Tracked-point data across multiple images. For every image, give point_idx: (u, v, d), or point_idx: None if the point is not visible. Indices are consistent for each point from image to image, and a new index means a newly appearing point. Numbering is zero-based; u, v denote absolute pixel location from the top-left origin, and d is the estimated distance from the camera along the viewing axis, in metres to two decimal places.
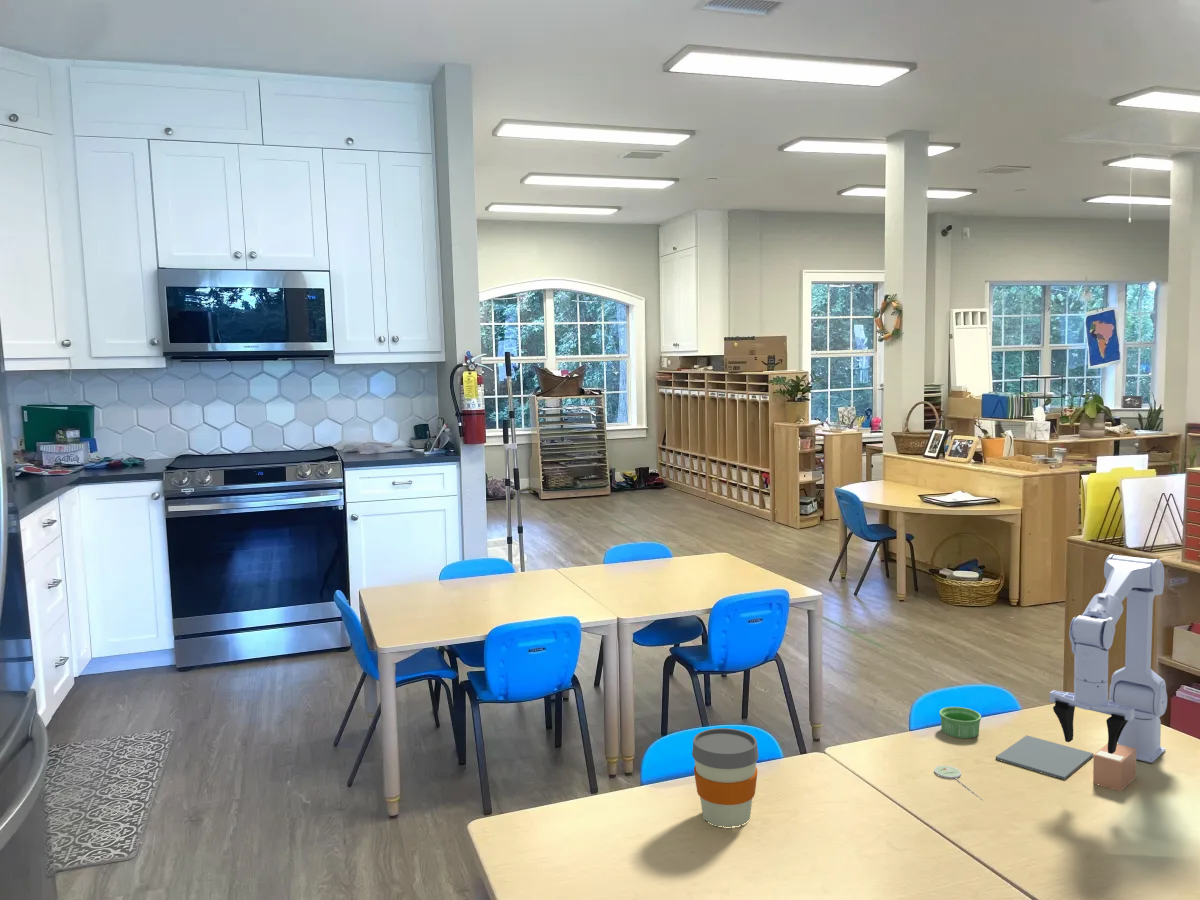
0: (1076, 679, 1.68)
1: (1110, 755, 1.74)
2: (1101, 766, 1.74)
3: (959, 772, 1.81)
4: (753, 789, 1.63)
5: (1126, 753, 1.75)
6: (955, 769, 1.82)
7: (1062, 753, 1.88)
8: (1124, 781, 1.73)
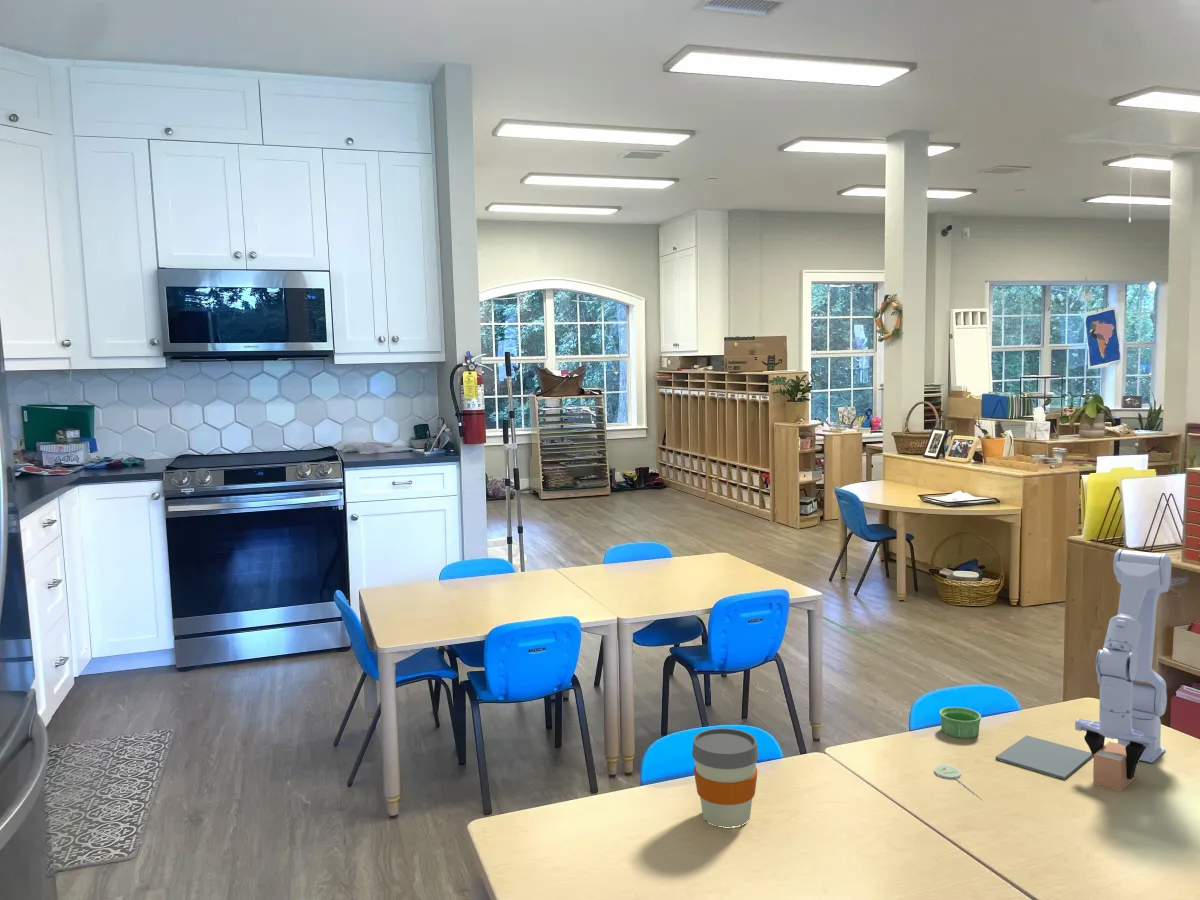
0: (1101, 709, 1.75)
1: (1110, 754, 1.74)
2: (1101, 765, 1.74)
3: (959, 772, 1.81)
4: (753, 789, 1.63)
5: None
6: (955, 769, 1.82)
7: (1062, 753, 1.88)
8: (1124, 780, 1.73)
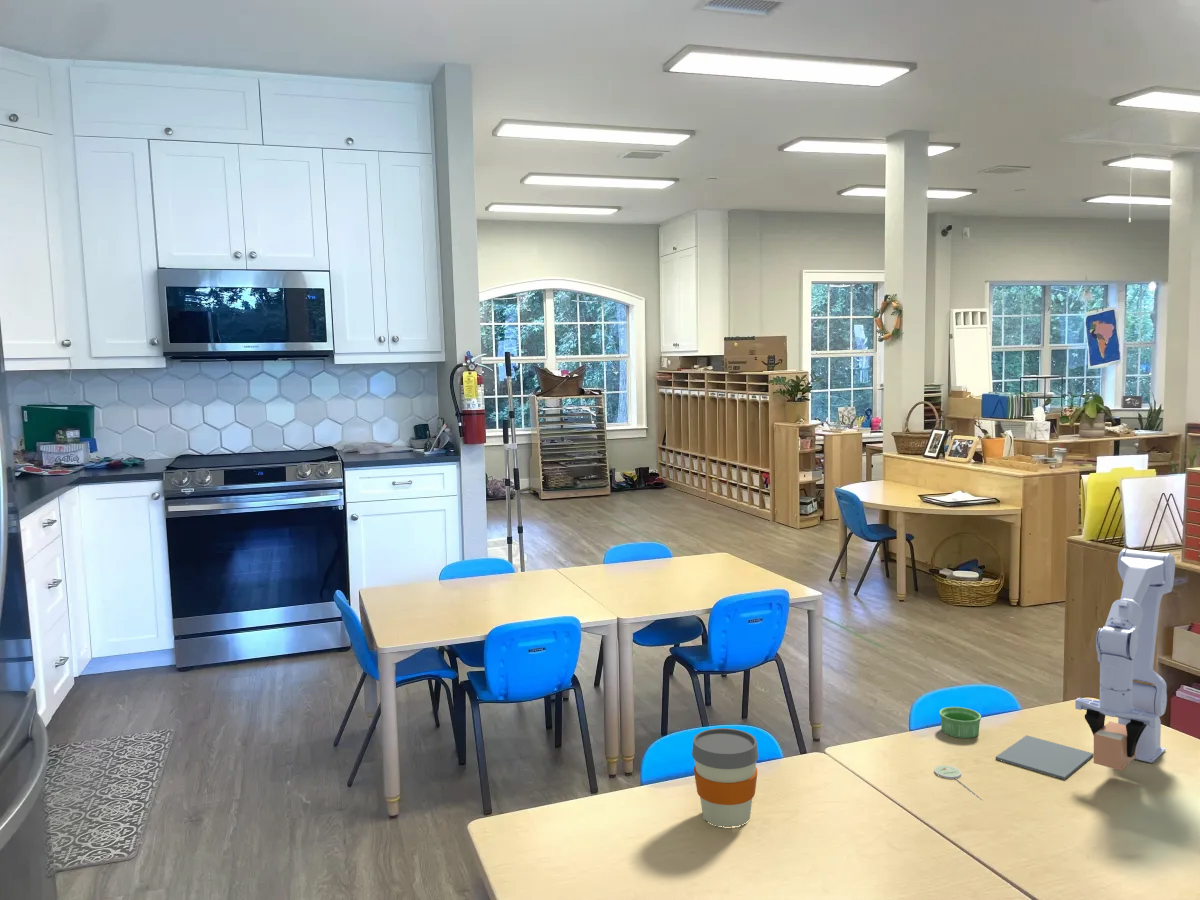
0: (1102, 687, 1.75)
1: (1110, 734, 1.74)
2: (1101, 745, 1.73)
3: (959, 772, 1.81)
4: (753, 789, 1.63)
5: (1126, 732, 1.74)
6: (955, 769, 1.82)
7: (1062, 753, 1.88)
8: (1125, 760, 1.73)
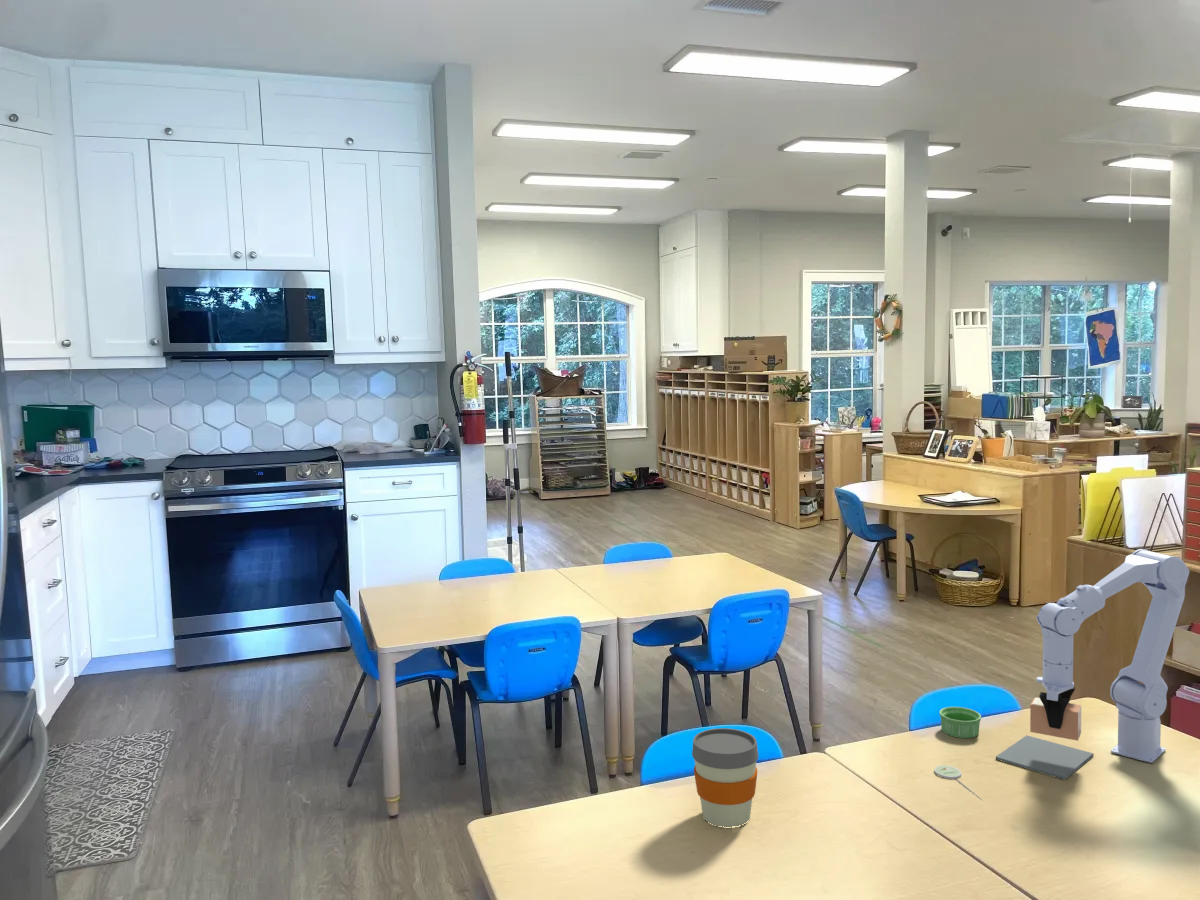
0: None
1: (1041, 701, 1.86)
2: None
3: (959, 772, 1.81)
4: (753, 789, 1.63)
5: None
6: (955, 769, 1.82)
7: (1062, 753, 1.88)
8: (1041, 727, 1.84)
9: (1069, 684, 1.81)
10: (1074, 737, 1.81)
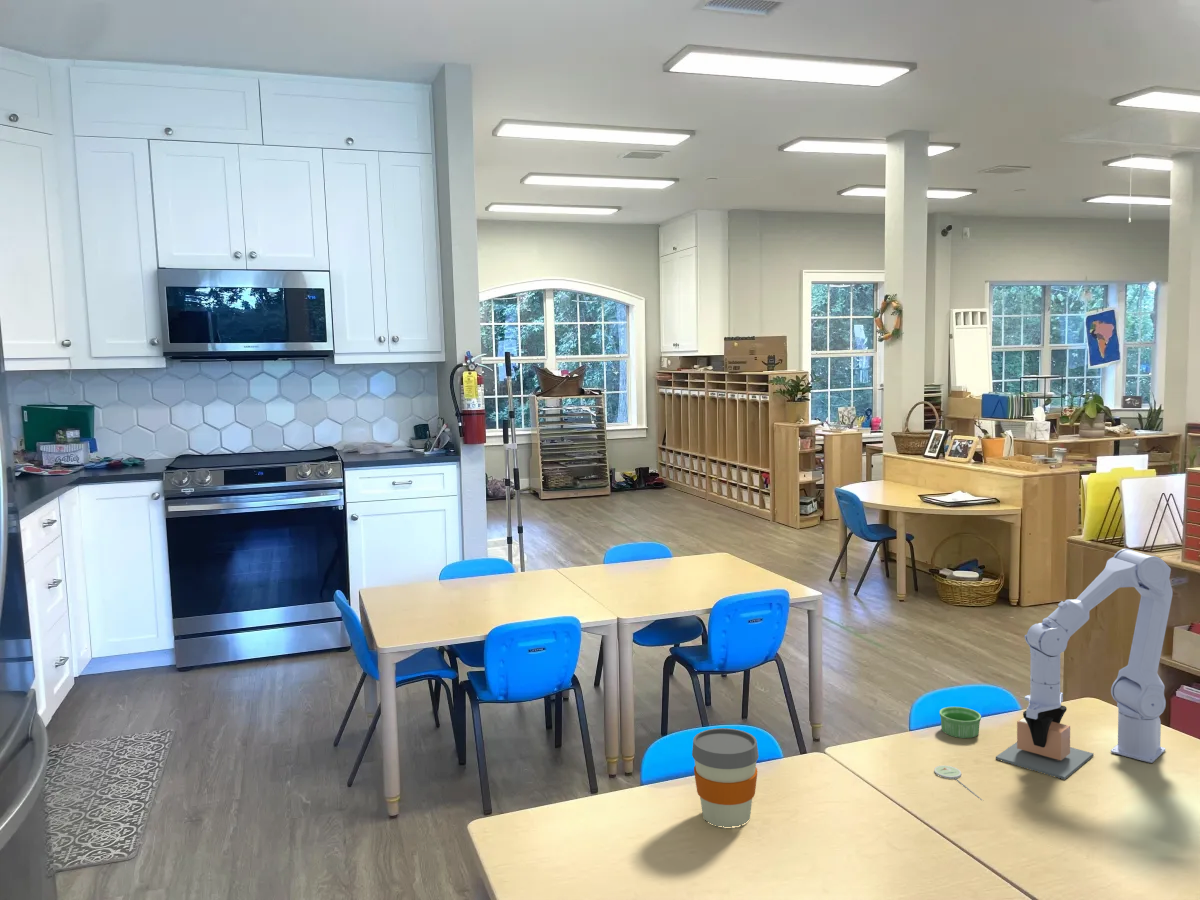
0: None
1: None
2: None
3: (959, 772, 1.81)
4: (753, 789, 1.63)
5: None
6: (955, 769, 1.82)
7: None
8: (1027, 744, 1.87)
9: (1054, 704, 1.84)
10: (1057, 757, 1.83)
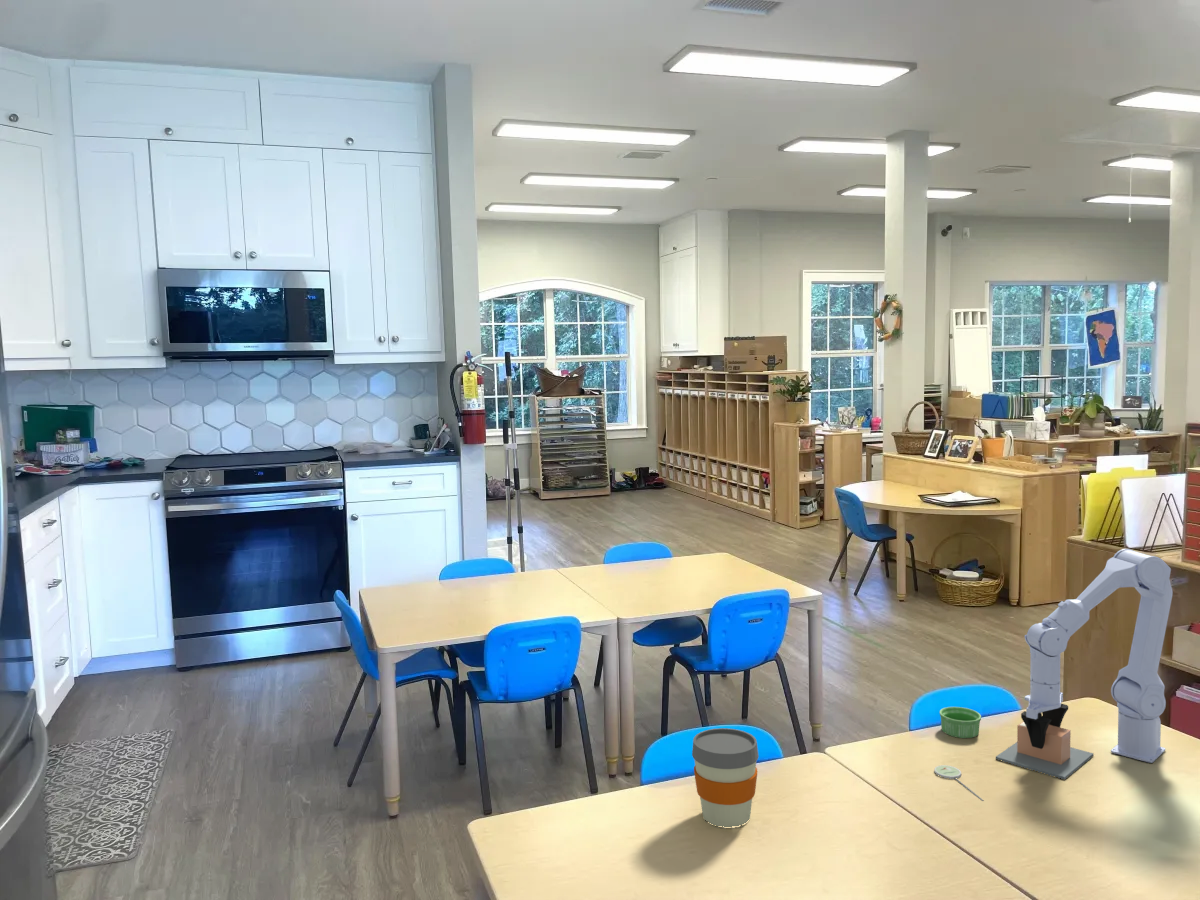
0: None
1: None
2: None
3: (959, 772, 1.81)
4: (753, 789, 1.63)
5: None
6: (955, 769, 1.82)
7: None
8: (1027, 748, 1.87)
9: (1054, 704, 1.84)
10: (1057, 761, 1.83)
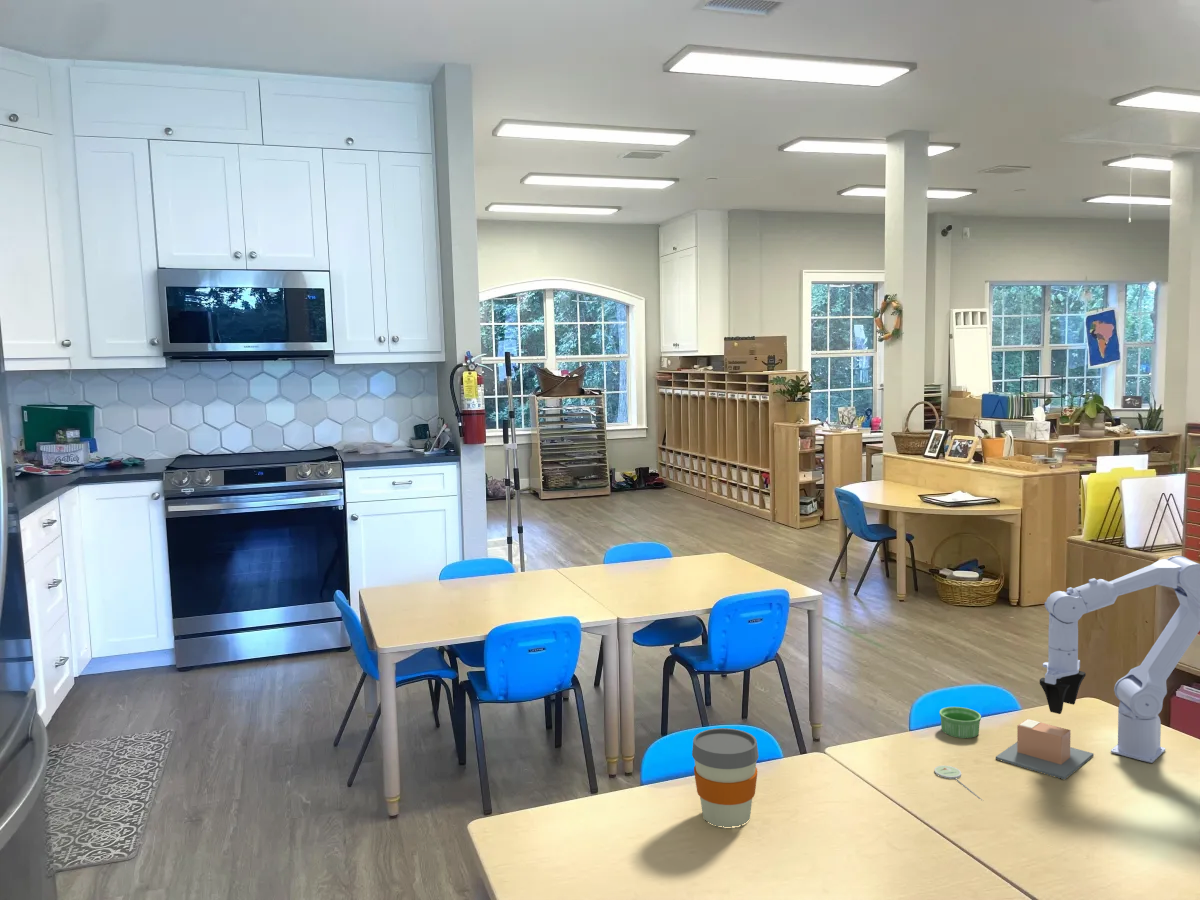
0: None
1: (1030, 723, 1.89)
2: None
3: (959, 772, 1.81)
4: (753, 789, 1.63)
5: (1042, 730, 1.85)
6: (955, 769, 1.82)
7: None
8: (1027, 748, 1.87)
9: (1072, 670, 1.87)
10: (1057, 761, 1.83)
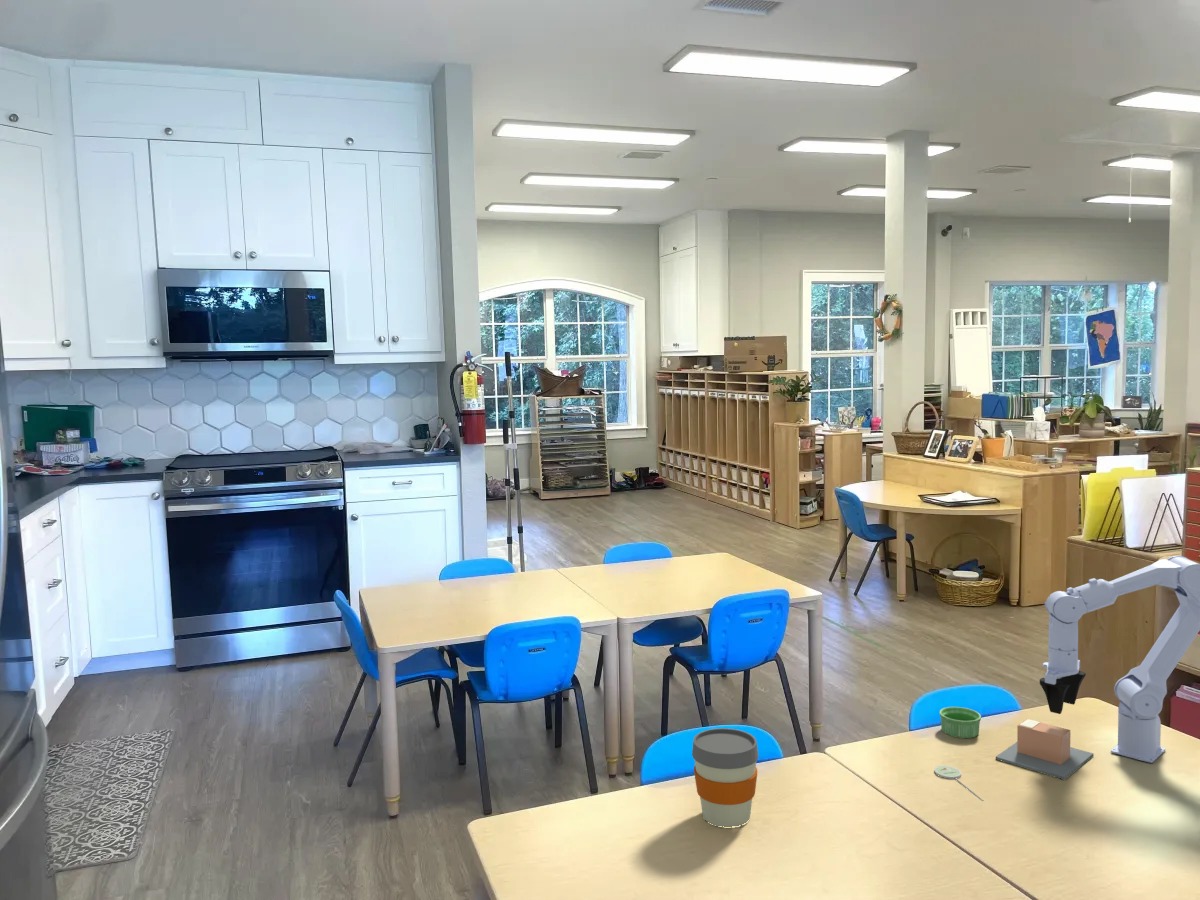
0: None
1: (1030, 723, 1.89)
2: None
3: (959, 772, 1.81)
4: (753, 789, 1.63)
5: (1042, 730, 1.85)
6: (955, 769, 1.82)
7: None
8: (1027, 748, 1.87)
9: (1072, 670, 1.87)
10: (1057, 761, 1.83)
